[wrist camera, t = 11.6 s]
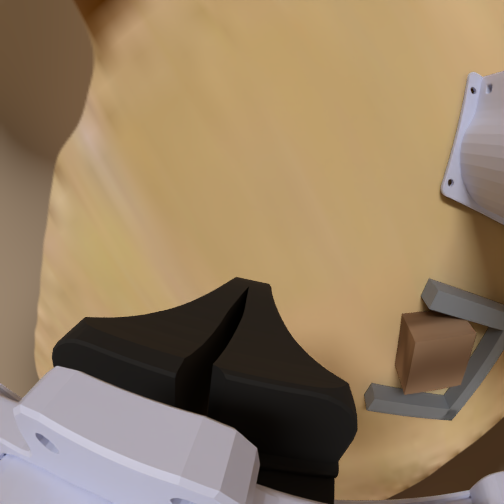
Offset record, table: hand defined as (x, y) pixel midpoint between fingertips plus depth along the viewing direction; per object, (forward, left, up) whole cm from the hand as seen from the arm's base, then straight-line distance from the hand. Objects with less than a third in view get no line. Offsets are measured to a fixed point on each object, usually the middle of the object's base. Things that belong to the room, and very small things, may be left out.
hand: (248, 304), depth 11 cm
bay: (+6, +17, -10) cm, 21 cm away
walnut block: (+5, +14, -11) cm, 19 cm away
